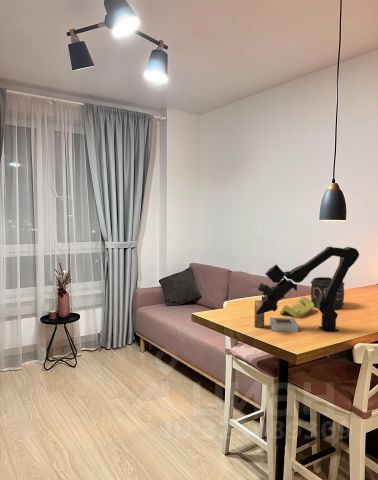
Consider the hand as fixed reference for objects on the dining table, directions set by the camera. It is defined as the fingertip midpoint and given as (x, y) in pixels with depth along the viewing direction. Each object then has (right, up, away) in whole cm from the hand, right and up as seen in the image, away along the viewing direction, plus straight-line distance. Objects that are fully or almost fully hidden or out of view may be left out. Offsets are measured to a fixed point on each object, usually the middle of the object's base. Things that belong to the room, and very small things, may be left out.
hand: (256, 312), depth 169 cm
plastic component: (+27, -5, +24) cm, 36 cm away
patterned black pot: (+48, -4, +38) cm, 61 cm away
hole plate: (+12, -7, -1) cm, 14 cm away
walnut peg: (+1, -7, 0) cm, 7 cm away
